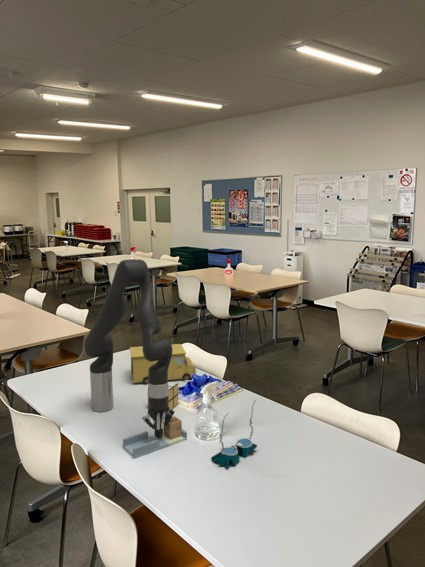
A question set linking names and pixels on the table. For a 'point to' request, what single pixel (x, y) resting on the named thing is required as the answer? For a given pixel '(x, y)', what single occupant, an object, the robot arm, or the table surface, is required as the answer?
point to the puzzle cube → (172, 394)
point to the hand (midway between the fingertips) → (158, 437)
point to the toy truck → (140, 365)
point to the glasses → (234, 449)
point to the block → (173, 428)
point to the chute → (149, 443)
